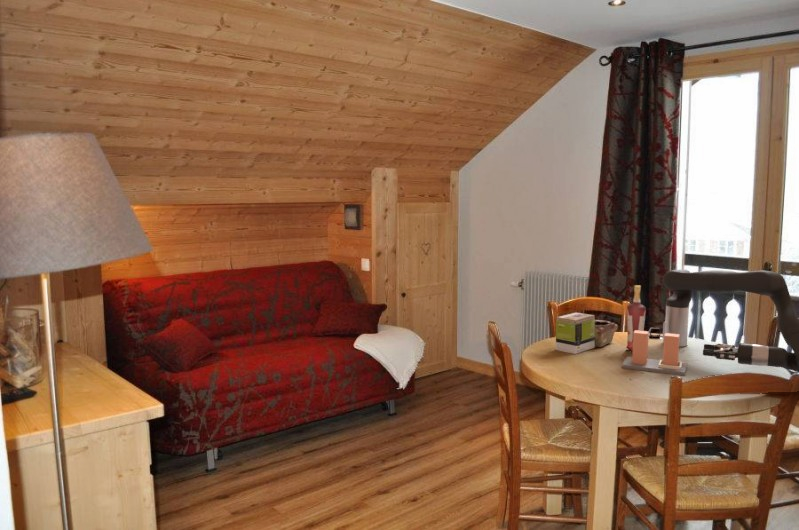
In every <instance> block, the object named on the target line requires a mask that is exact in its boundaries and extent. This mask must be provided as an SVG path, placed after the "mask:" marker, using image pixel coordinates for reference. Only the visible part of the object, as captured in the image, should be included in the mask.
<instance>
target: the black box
mask: <svg viewBox="0 0 799 530" xmlns="http://www.w3.org/2000/svg"><path fill="white" fill-rule="evenodd" d="M648 331H649V336H648V339H653V340H663V335H661V333H662V332H661V329H660V327H653V326H652V327H650V328H649V330H648Z"/></svg>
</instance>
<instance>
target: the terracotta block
mask: <svg viewBox="0 0 799 530" xmlns="http://www.w3.org/2000/svg"><path fill="white" fill-rule="evenodd" d="M679 339H680V334H671V333H665V335H664V343H663V353H662V354H663V357H662V360H663V365H671V366H678V362H679V359H680V358H679V356H680V354H679V353H680V347H679Z"/></svg>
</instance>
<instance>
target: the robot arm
mask: <svg viewBox="0 0 799 530" xmlns="http://www.w3.org/2000/svg"><path fill="white" fill-rule="evenodd" d="M661 280H662V285H663V286H664V288H665V289H667V290H668V291H671V292H673V293H672V294H671V296H669V297H668V298H667V299H666V303H665V319H664V320H665V321H663V322H662V323H663V324H662V325H663V326H662V336H663V339H662V343H663V344H664V335H665V333H671V334H680V339H679V348H680V347H687V346H688V335H689V334H688V333H689V332H688V330H689V317H690V315H689V313H690V303H691V301H692V298H693V296H692V295H693V291H696V292H701V293H712V294H729V293H734V292H744V293H751V294H757V295H760V296H765V297H766V296H767V297H769V298H770V300H771V301H772V302H773V304H774V306H775V308H776V314H777V315H776V316H777V317H776V318H777V319H776V320H777V322H776V323H777V326H778V329H779V332H780V333H781V336H782V338H783V339H784V341H785V343H786V345H787V346H788V347H789V348H791V349H792V351H791V352H790V351H787V349H786V348H783V347H779V346H768V345H762V344H755V343H744V342H739V343H738V347H736V346H735V344H734V345H733V344H725V343H723V344H722V343H716V344H706V343H705V344H703V350H702V356H705V357H714V358H716V359H717V360H726V361H727V360H728V361H736V359H737V363H738V364H739V365H749V366H756V367H757V366H758V367H764V366H765V367H773V368H774V367H775V368H782V369H787V370H789V371H792V372H793V371H794V372H798V373H799V318H798V315H797V313H796V310H795V307H794V305H793V301H792V298H791V295H790V292H789V291H790V290H789V288H788V284H787V282H786V280H785V277H784V276H783V275H782V274H780V273H779V272H775V271H769V270H753V271H752V270H751V271H743V272H739V271H734V270H724V269H723V270H721V269H720V270H719V269H718V270H715V269H714V270H713V269H712V270H702V271H701V270H700V271H694V272H691V271H690V270H688V269H684V268H683V269H672V270H669V271H666V273H665V274H664V275H663V276H662V279H661Z"/></svg>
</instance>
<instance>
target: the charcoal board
mask: <svg viewBox="0 0 799 530" xmlns="http://www.w3.org/2000/svg"><path fill="white" fill-rule="evenodd" d="M648 336H649V330H648V331H647V330H644V331H639V330H635V331H634V333H633V352H632V356H629V355H628V356H626V358H625V359H624V360H623V363H622V364H621V366H622V369H628V370H636V371H645V372H651V373H652V372H653V373H660V374H661V373H662V374H667V375H668V374H669V375H670V374H671V375H679V376H683V377H684V376H686V373H687V367H688V363H687V362H683V361H678V366H671V365H663V359H654V358H648V356H649V355H648V354H649V353H648V352H649V338H648Z"/></svg>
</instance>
